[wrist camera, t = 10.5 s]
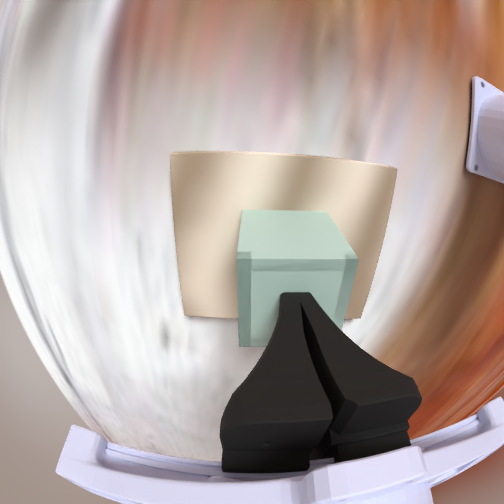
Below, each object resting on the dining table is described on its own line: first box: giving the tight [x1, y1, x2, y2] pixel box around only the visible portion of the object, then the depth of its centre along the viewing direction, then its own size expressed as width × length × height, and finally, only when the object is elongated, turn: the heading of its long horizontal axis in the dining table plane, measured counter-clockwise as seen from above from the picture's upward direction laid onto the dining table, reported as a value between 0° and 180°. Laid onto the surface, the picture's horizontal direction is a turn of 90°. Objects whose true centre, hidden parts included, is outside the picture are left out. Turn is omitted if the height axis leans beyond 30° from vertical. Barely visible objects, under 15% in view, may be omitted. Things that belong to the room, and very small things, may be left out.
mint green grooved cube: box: [236, 210, 359, 347], centre depth 15 cm, size 5×5×6 cm
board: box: [170, 151, 397, 319], centre depth 16 cm, size 14×12×6 cm
